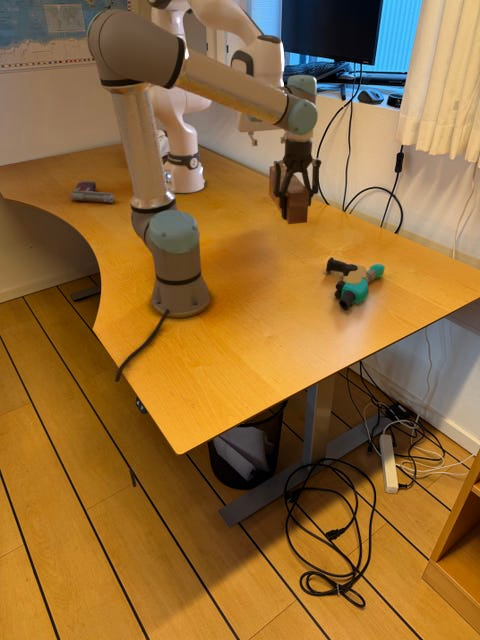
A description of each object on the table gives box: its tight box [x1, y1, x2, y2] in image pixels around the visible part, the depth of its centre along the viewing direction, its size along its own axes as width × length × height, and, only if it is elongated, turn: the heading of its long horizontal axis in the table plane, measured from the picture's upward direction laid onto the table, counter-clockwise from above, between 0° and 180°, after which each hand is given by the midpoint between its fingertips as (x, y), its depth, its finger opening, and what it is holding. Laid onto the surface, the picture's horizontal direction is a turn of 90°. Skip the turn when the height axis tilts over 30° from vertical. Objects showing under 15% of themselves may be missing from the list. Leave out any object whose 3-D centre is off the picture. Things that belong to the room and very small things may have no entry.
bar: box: [268, 164, 309, 225], centre depth 149 cm, size 25×6×10 cm, turn 11°
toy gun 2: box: [325, 257, 386, 312], centre depth 129 cm, size 4×26×15 cm
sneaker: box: [157, 129, 170, 158], centre depth 220 cm, size 10×29×12 cm, turn 163°
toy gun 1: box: [69, 180, 115, 204], centre depth 185 cm, size 4×19×15 cm
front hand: (294, 216), depth 144 cm, fingers closed on bar, 6 cm apart
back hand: (269, 144), depth 152 cm, fingers open, 8 cm apart
